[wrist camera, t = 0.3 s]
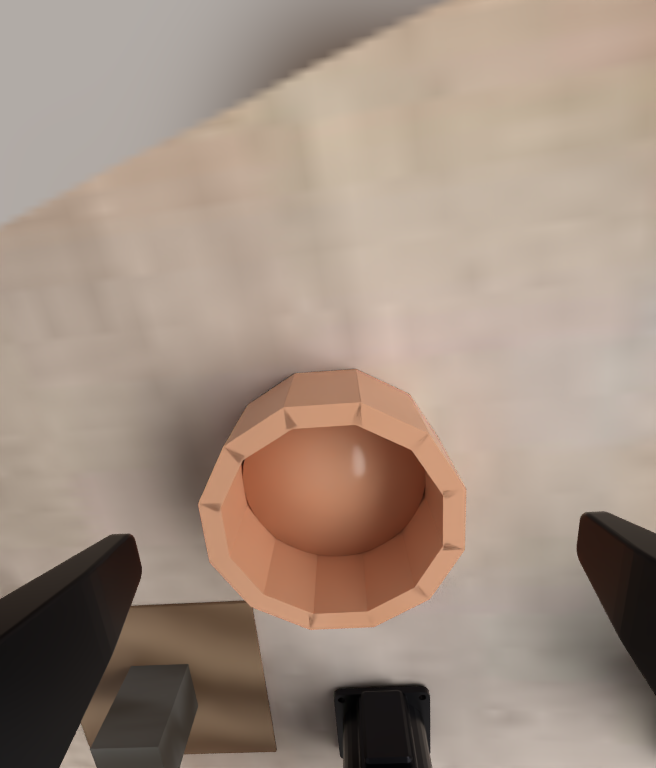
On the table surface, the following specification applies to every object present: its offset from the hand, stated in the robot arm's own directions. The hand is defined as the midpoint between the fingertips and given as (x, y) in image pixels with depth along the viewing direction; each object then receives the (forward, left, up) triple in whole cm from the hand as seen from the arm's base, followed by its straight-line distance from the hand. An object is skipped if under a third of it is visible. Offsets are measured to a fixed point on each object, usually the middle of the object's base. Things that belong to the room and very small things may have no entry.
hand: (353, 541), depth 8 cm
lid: (-22, +14, -15) cm, 30 cm away
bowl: (-6, +1, -14) cm, 16 cm away
